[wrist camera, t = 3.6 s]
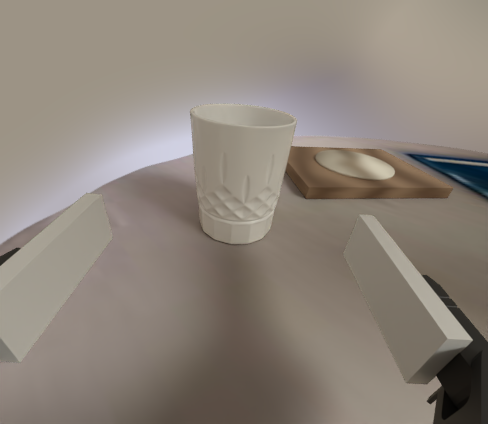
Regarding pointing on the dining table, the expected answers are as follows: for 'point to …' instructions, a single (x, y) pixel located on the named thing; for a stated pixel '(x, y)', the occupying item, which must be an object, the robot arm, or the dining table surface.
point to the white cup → (239, 168)
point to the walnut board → (359, 175)
